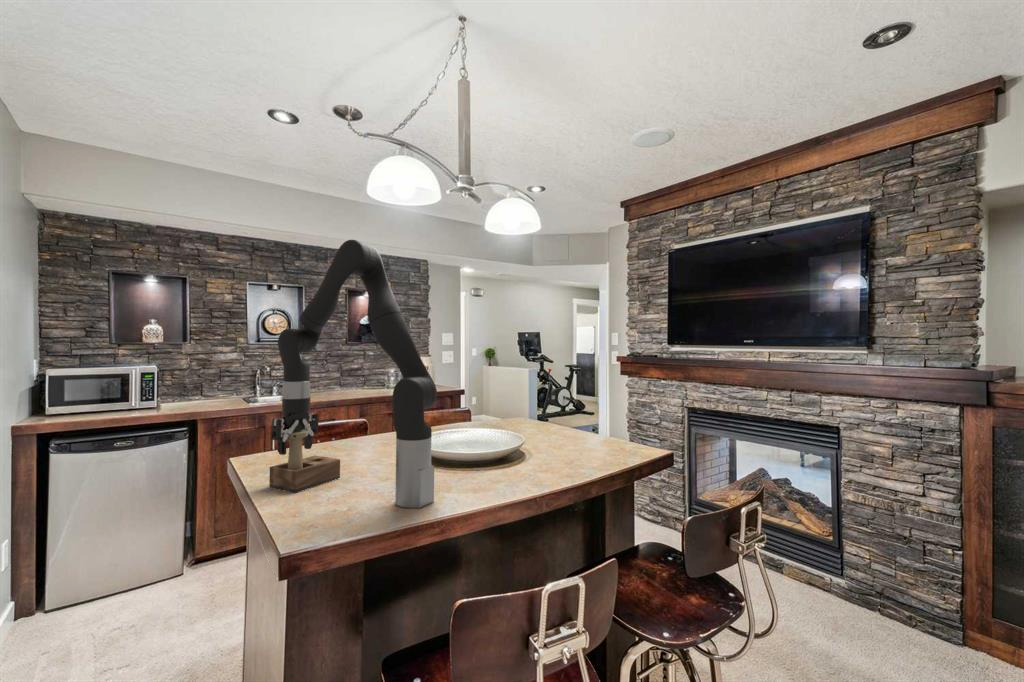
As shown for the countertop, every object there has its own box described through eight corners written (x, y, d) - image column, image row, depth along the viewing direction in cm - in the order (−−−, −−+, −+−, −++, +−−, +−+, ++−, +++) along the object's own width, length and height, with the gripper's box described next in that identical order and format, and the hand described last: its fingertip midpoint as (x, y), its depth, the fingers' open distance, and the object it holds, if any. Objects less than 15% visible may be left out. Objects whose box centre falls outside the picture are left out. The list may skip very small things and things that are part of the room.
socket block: (339, 478, 141) (340, 459, 141) (295, 493, 126) (295, 471, 127) (314, 474, 146) (315, 455, 146) (269, 487, 131) (269, 466, 131)
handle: (306, 484, 131) (306, 433, 131) (281, 486, 129) (282, 434, 129) (307, 479, 136) (308, 429, 136) (284, 481, 134) (285, 430, 134)
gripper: (283, 399, 125) (282, 458, 125) (325, 394, 138) (324, 448, 138) (265, 398, 128) (264, 455, 128) (307, 393, 141) (307, 445, 141)
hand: (295, 451), depth 133 cm, fingers open, 8 cm apart
